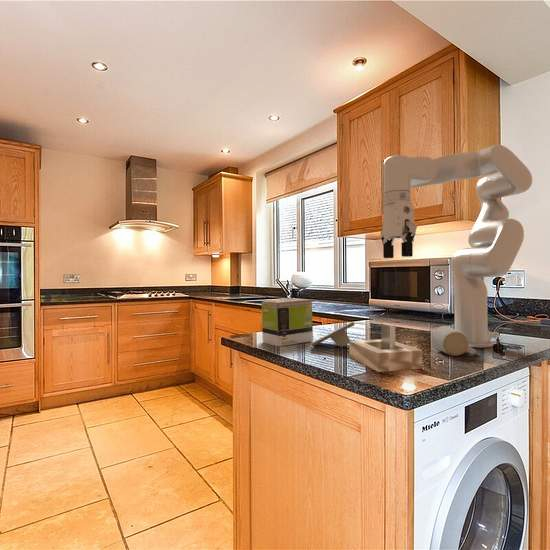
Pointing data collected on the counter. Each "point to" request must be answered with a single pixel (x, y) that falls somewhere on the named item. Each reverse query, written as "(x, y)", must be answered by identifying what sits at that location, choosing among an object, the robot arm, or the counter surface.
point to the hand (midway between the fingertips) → (397, 257)
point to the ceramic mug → (451, 341)
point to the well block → (385, 356)
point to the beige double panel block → (337, 336)
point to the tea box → (287, 321)
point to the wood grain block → (387, 336)
